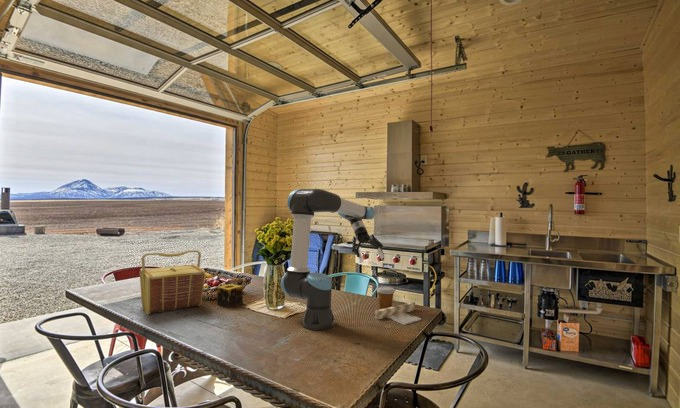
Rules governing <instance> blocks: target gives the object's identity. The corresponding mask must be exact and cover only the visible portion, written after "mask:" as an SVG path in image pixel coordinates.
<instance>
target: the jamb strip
mask: <svg viewBox="0 0 680 408" xmlns="http://www.w3.org/2000/svg"><path fill="white" fill-rule="evenodd" d="M413 311H416V302H415V301H412V302H407V303H401V304H399V305H398V304H397V305H394V306H392V307H389V308H384V309H380V310H379V309H377V310H374V319H375V320H383V319H385V318H387V316H390V315H394V314H398V313H402V312H404V313H409V312H413Z"/></svg>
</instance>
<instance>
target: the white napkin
mask: <svg viewBox="0 0 680 408" xmlns="http://www.w3.org/2000/svg"><path fill="white" fill-rule="evenodd" d="M386 318H387V319H389V320H391V321H393V322H396V323H399V324H401V325H404V326H407V325H409V324H412V323H416V322H421V321H422V318H420V317H418V316H415V315H412V314H410V313H408V312H406V313H404V312H402V313H398V314H394V315H390V316H387V317H386Z"/></svg>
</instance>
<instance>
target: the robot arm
mask: <svg viewBox="0 0 680 408" xmlns="http://www.w3.org/2000/svg"><path fill="white" fill-rule="evenodd" d="M286 201H287V202H286V204H287V207H288V210H289V211H290V213H291V214H290V215H291V216H292V218H293V225H292V226H293V227H292V239H291V250H290V251H291V252H290V253H291V254H290V265H289V267H288V268H286V272H285V273H284V274H283V275H282V277H281V278H280V279H281V280H280V288H281V290H282V292H283V293H284V294H285V295H287V296H289V297H291V298H297V299H302V300H306V308H305V312H304V315H303V317H302V327H303V328H305V329H308V330H313V331H324V330H329V329H331V328H333V327H334V326H335V317H334V312H333V311H332V310H333V309H332V288H333V285H332V278H331V277H330V276H329V275H327V274H326V273H321V272H311V269H310V268H309V266H308V264H309V250H310V239H311V238H310V236H311V223H312V221H311V220H312V219H313V218H314V217H315V213H332V214H334V213H337V215H339V216H340V217H341V218H343V219H345V220H347V221H348V222H349V223H350V225H351V228H352V230H353V232H354V235H355V236H353V237H352V239H351V240H352V247H351V252H352V253H353V254H355V255H356V257H357V258H358V259H359V262H360V263H361V264H362V263H363V262H364V258H363V256H362V253H361V251H360V250H359V249H360V247H361V245H364V244H368V245H371V246H372V247H374V248H375V249H376V250H377V253H378V256H379V258H380V259H381V260H383V259H384V258H385V256H384V254H383V253H384V252H383V249H382V248H383V247H384V244H383V243H381V241H380V240H379V239H377V237H376V236H375V235H374V233H373V234H370V235H369V233H368V230H367V228H366V226H365V223H364V221H363V220H373V219H374V218H375V216H376V210H375V208H374V207H373V206H365V205H362V204H359V203H357V202H353V201H350V200H348V199H345V198H342V197H341V196H340V195H339V194H338V193H337V194H336V193H334V192H330V191H329V190H325V189H322V188H300V189H295V190H292V191H291V192H290V193H289V195H288V197H287V200H286ZM357 241H358V243H357V246H356V242H357Z"/></svg>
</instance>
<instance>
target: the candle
mask: <svg viewBox="0 0 680 408" xmlns="http://www.w3.org/2000/svg"><path fill="white" fill-rule="evenodd" d="M243 289H244V287H243V285H239V284H234V283H233V284H232V283H229V284H225V285H221V286H220V285H219V286H217V288H216V291H217V293H216V297H217V299H216V305H219V306H221V307H225V308H231V307H235V306H237V305H242V304H243V303H244V301H243V300H244V297H243Z"/></svg>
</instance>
